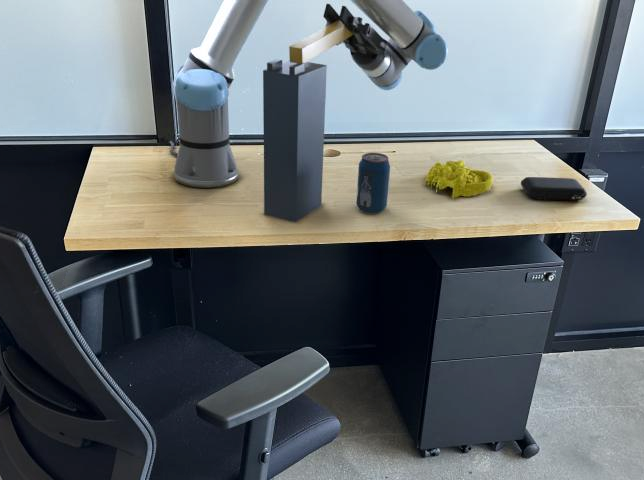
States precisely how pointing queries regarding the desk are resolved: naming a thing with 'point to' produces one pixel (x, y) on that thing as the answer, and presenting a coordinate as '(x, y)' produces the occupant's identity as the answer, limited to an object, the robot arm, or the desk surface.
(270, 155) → the door post
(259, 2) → the robot arm
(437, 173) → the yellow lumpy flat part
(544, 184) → the carrying case
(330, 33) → the bar
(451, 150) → the desk surface
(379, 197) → the soda can
